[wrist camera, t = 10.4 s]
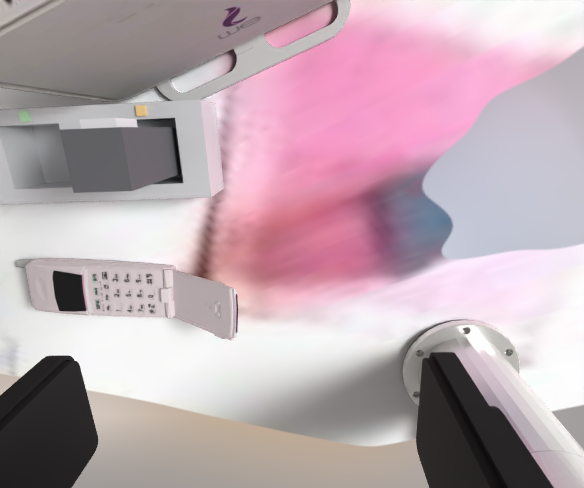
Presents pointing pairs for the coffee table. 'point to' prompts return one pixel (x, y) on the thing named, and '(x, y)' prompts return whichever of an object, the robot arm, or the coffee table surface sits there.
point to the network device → (143, 43)
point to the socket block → (50, 120)
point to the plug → (119, 155)
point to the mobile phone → (131, 292)
